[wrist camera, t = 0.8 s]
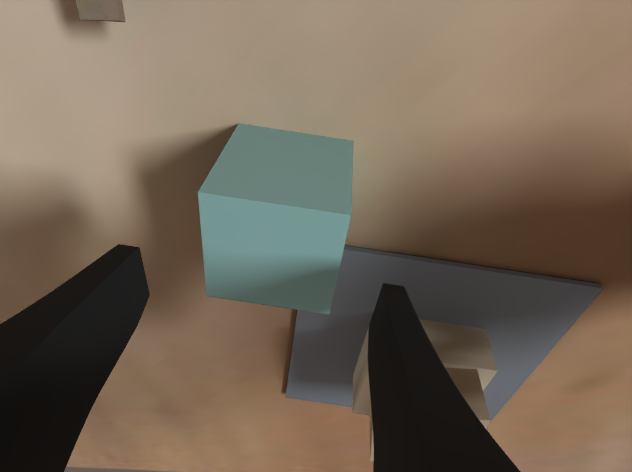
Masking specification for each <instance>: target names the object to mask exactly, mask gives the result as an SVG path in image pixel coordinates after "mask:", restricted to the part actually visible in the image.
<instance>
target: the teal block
mask: <svg viewBox="0 0 632 472" xmlns="http://www.w3.org/2000/svg"><path fill="white" fill-rule="evenodd" d="M353 145H354V141H351V140H345V139H338V138H331V137H325V136H318V135H312V134H305V133H299V132H292V131H286V130H279V129H272V128H266V127H259V126H253V125H246V124H240V123H239V124H238V126H237V127H236V129H235V131H234V132H233V134H232V136H231V137H230V139H229V141H228V142H227V144H226V146H225V147H224V149H223V151H222V152H221V154H220V156H219V157H218V159H217V161H216V162H215V164H214V166H213V168H212V169H211V171H210V173H209V174H208V176H207V178H206V179H205V181H204V183H203V184H202V186H201V188H200V189H199V191H198V200H199V212H200V224H201V236H202V248H203V261H204V273H205V285H206V296H209V297H215V298H222V299H229V300H236V301H242V302H249V303H256V304H262V305H269V306H276V307H283V308H289V309H296V310H303V311H310V312H316V313H323V314H330V309H331V305H332V300H333V296H334V291H335V287H336V282H337V277H338V273H339V268H340V264H341V259H342V255H343V250H344V246H345V241H346V237H347V232H348V227H349V223H350V218H351V205H352V175H353Z"/></svg>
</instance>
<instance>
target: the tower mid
mask: <svg viewBox="0 0 632 472" xmlns="http://www.w3.org/2000/svg"><path fill="white" fill-rule="evenodd" d="M446 370H447V372H448V373H449V375H450V377H451V378H452V380H453V382H454V383H455V385H456V386H457V388H458V389H459V391H460V393H461V394H462V396H463V397H464V399H465V400H466V402H467V403H468V404H469V406H470V407H471V409H472V410H473V412H474V413H475V415H476V416H477V417H478V419H479V420H480V421H481V423H482V424H483V425H484V427H485V428H486V429H487V427H488V424H489V422H490V417H489V413H488V409H487V405H486V401H485V397H484V394H483V390H482V386H481V382H480V378H479V374H478V370H477V369H464V368H446ZM370 461H374V441H373V424H372V411H371V399H370Z"/></svg>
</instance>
